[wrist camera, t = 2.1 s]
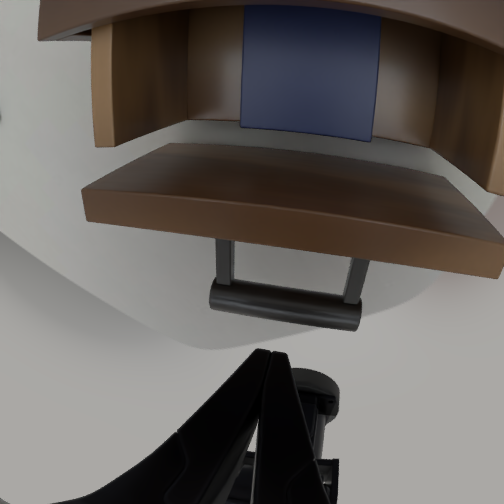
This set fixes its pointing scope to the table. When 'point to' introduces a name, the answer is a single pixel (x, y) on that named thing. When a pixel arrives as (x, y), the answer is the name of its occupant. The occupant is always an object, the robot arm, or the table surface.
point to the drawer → (298, 160)
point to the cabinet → (374, 3)
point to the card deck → (310, 70)
